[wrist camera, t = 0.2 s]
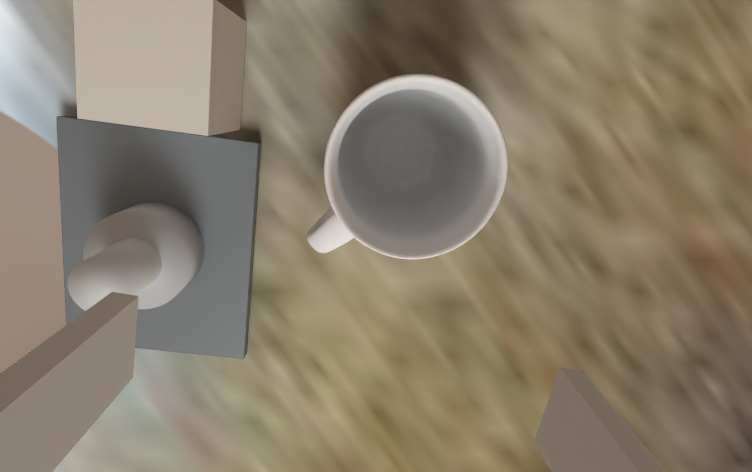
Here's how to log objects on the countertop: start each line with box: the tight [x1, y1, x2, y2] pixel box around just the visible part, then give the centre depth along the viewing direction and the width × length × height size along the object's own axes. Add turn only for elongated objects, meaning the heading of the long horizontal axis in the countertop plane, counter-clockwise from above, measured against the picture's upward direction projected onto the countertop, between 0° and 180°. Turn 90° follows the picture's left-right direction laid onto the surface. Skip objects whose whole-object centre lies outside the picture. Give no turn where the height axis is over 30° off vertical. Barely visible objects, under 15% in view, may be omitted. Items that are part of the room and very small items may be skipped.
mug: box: [306, 74, 508, 259], centre depth 34 cm, size 15×11×13 cm
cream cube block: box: [73, 0, 246, 136], centre depth 33 cm, size 8×8×8 cm
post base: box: [57, 116, 261, 359], centre depth 36 cm, size 20×16×10 cm
